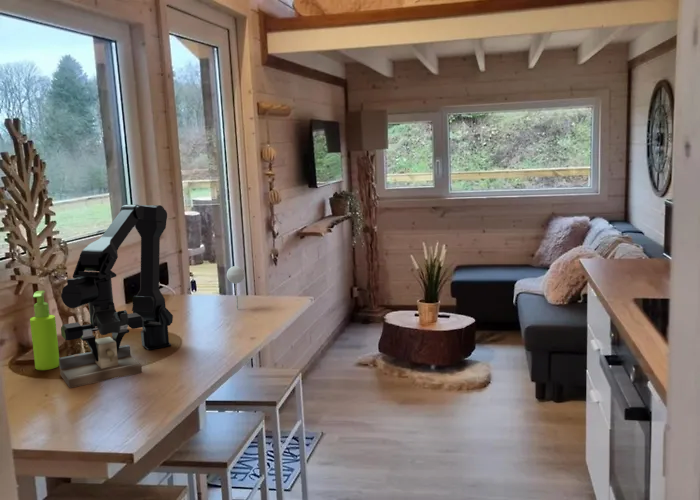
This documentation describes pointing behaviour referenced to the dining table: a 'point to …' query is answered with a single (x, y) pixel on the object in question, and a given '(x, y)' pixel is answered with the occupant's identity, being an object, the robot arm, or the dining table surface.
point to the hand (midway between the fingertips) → (106, 359)
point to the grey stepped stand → (96, 368)
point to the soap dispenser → (44, 335)
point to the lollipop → (235, 277)
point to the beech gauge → (106, 352)
